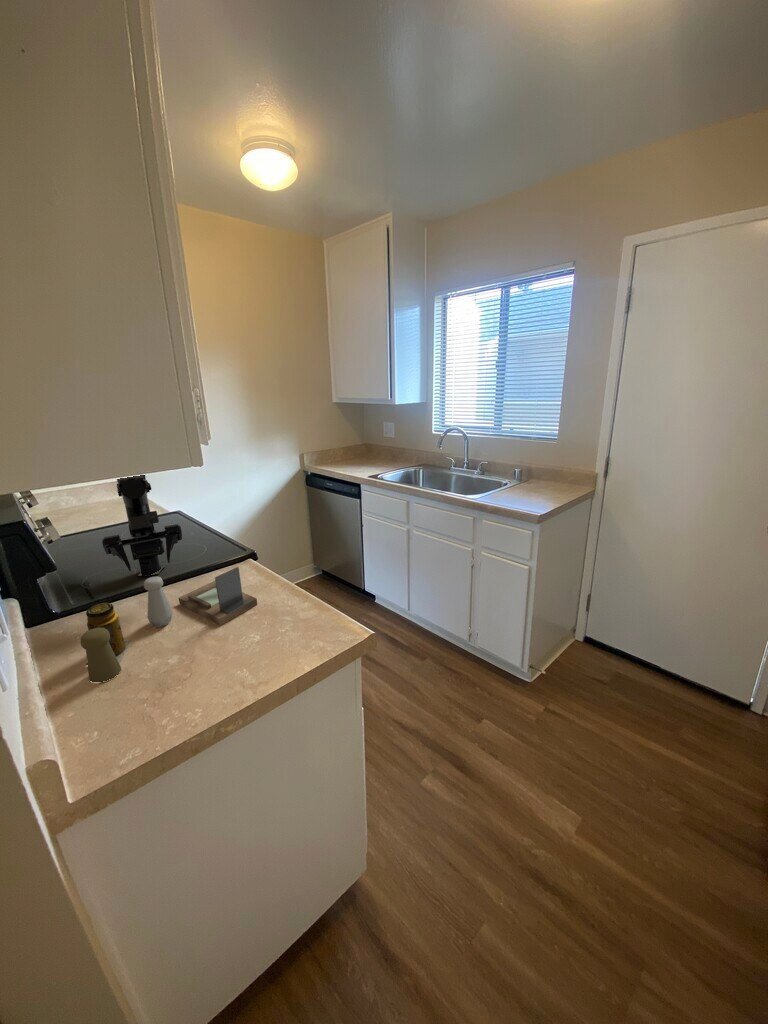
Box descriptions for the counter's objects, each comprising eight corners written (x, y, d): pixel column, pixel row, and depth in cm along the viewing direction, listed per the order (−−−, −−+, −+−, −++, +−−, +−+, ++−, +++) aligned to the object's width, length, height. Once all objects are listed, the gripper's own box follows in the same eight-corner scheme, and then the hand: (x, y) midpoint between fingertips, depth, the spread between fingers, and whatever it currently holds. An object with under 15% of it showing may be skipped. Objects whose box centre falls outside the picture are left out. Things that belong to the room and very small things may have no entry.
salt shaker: (163, 630, 106) (154, 585, 101) (144, 628, 107) (133, 583, 102) (178, 617, 111) (170, 574, 107) (160, 615, 112) (150, 572, 108)
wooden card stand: (179, 603, 117) (177, 593, 116) (216, 586, 127) (214, 576, 126) (220, 625, 107) (219, 614, 106) (257, 604, 117) (256, 594, 116)
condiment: (131, 640, 102) (121, 598, 98) (120, 663, 94) (108, 618, 90) (98, 645, 100) (86, 602, 96) (84, 668, 92) (70, 623, 88)
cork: (86, 673, 91) (73, 631, 87) (117, 660, 95) (106, 620, 91) (92, 688, 87) (79, 644, 83) (124, 674, 91) (113, 631, 87)
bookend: (220, 610, 110) (214, 577, 107) (241, 598, 116) (237, 567, 113) (228, 614, 109) (222, 580, 105) (249, 602, 114) (245, 570, 111)
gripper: (94, 508, 105) (103, 564, 100) (174, 496, 114) (187, 546, 109) (102, 528, 114) (111, 579, 109) (176, 515, 123) (187, 562, 118)
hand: (150, 566), depth 111 cm, fingers open, 9 cm apart
